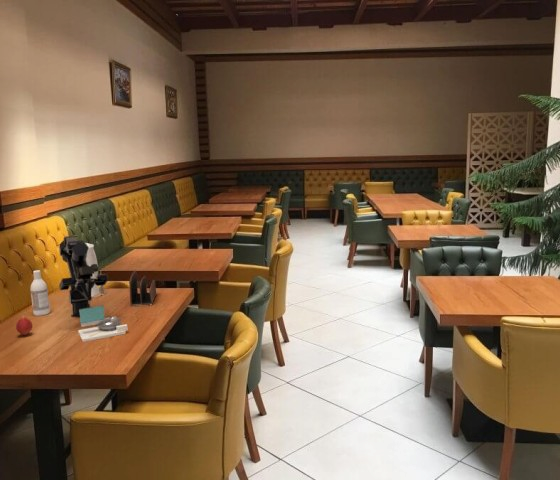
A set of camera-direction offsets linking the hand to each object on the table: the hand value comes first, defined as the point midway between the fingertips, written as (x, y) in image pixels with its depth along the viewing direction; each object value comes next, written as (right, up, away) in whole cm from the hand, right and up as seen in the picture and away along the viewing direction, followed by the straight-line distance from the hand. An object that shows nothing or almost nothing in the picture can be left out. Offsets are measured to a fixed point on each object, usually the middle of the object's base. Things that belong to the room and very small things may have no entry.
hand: (89, 300), depth 211 cm
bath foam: (-30, -9, +23) cm, 39 cm away
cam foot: (+7, -10, -5) cm, 13 cm away
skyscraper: (-17, -4, +51) cm, 54 cm away
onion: (-24, -14, -5) cm, 28 cm away
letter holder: (+12, -5, +39) cm, 41 cm away
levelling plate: (+8, -12, -6) cm, 16 cm away
